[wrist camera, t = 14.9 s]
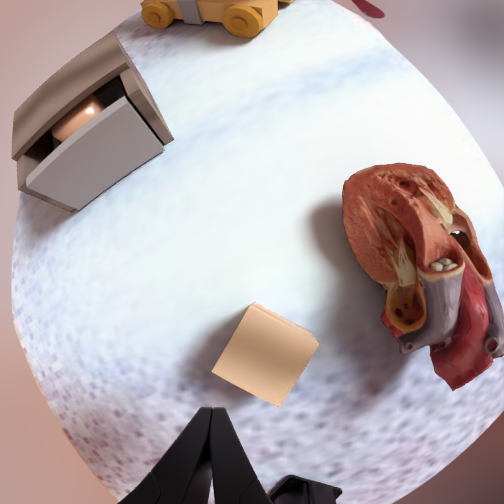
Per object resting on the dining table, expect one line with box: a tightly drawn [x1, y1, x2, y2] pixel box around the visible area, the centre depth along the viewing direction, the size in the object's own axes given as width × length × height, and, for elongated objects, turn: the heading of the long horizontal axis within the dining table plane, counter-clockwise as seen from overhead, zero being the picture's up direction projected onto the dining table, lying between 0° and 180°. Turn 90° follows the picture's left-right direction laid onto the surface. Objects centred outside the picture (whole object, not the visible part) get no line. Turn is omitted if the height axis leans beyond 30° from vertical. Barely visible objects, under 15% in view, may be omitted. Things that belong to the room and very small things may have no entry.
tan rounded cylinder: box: [51, 93, 106, 143], centre depth 21 cm, size 5×5×6 cm
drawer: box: [26, 77, 164, 210], centre depth 21 cm, size 10×11×8 cm
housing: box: [12, 32, 174, 212], centre depth 21 cm, size 11×14×9 cm
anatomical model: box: [342, 163, 504, 391], centre depth 16 cm, size 11×13×15 cm
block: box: [212, 302, 319, 407], centre depth 19 cm, size 5×5×5 cm
